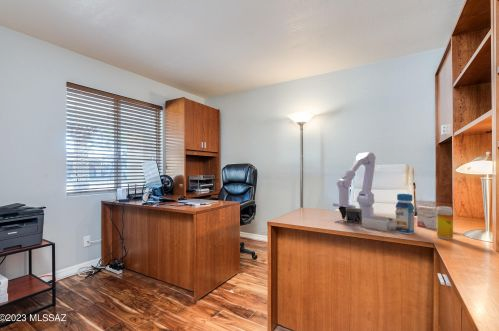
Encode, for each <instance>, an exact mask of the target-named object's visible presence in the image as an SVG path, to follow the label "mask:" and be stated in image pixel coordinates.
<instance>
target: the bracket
mask: <svg viewBox="0 0 499 331" xmlns="http://www.w3.org/2000/svg"><path fill="white" fill-rule="evenodd" d="M361 227H362V228H366V229H371V230H372V229H373V230H379V231H383V232H389V231H391V230H394V229H396V217H390V216H382V215H372V219H367V218H362V224H361ZM393 228H394V229H393Z"/></svg>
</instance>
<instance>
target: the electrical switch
mask: <svg viewBox="0 0 499 331" xmlns="http://www.w3.org/2000/svg"><path fill="white" fill-rule="evenodd" d="M345 207H346V206H345ZM345 219H346V220H345V221H346V223H354V224H361V223H362V209H361V208H360V207H356V208H354V209H352V208H350V207H346V217H345Z"/></svg>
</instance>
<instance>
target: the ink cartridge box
mask: <svg viewBox="0 0 499 331" xmlns="http://www.w3.org/2000/svg"><path fill="white" fill-rule="evenodd" d="M416 209H417V210H416V211H417V216H416V217H417V218H416V223H417V227H419V228H427V229H433V230H434V229H437V202H436V201H432V200H431V201H430V200H419V201H418V206H417V208H416Z"/></svg>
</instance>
